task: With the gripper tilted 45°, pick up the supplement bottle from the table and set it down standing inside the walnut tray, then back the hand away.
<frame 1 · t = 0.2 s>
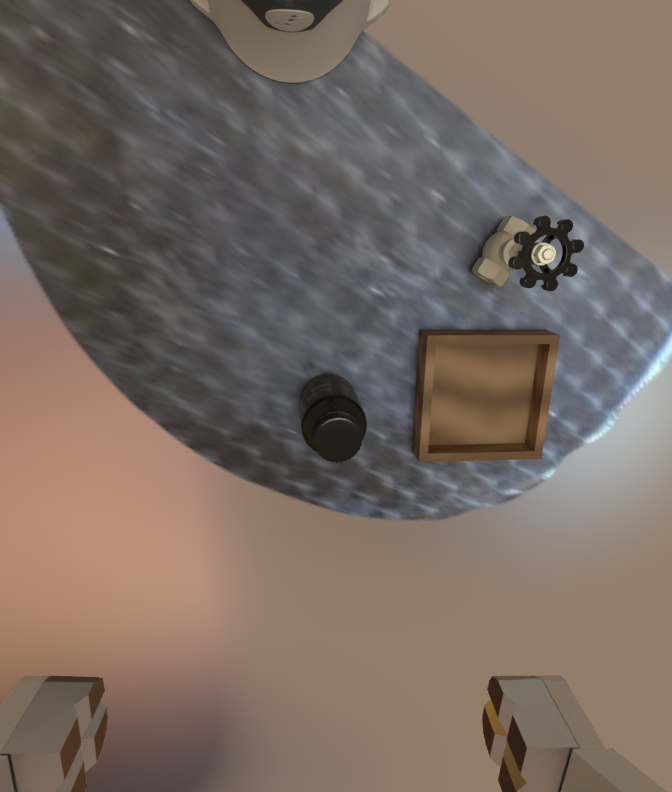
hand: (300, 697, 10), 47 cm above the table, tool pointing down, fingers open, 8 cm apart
supplement bottle: (328, 400, 59), on the table
valve: (494, 251, 55), on the table
walnut tray: (476, 391, 60), on the table
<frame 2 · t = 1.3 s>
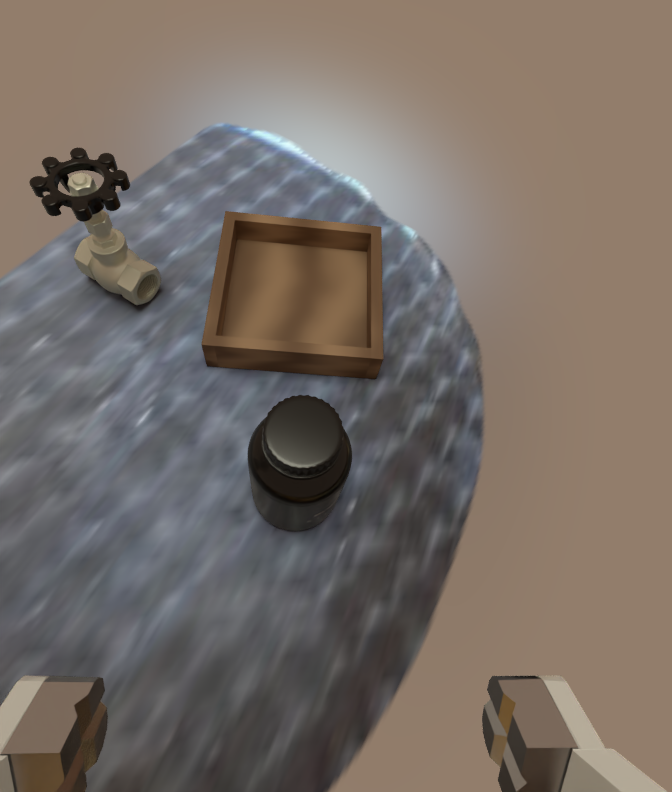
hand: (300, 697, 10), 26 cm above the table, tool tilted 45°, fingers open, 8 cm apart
supplement bottle: (295, 489, 39), on the table
valve: (125, 286, 46), on the table
walnut tray: (298, 304, 47), on the table
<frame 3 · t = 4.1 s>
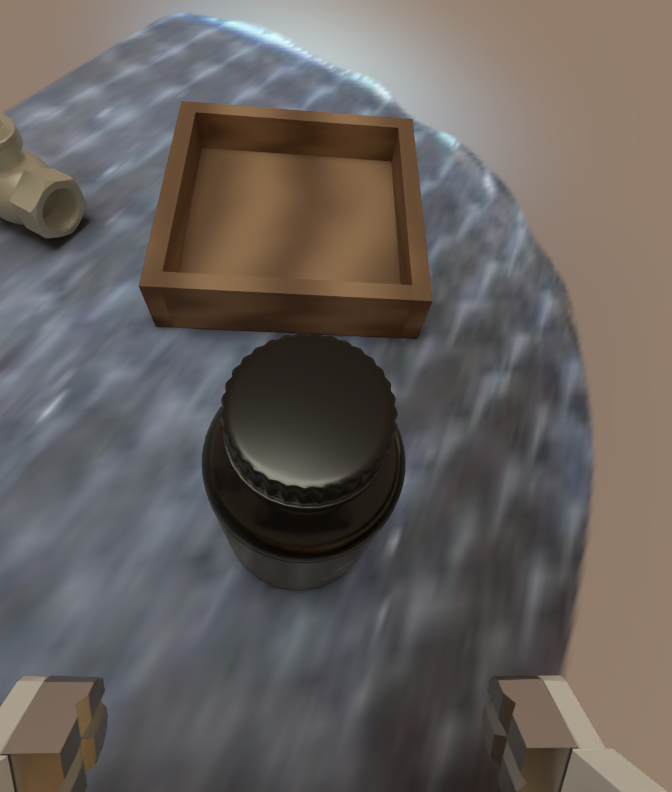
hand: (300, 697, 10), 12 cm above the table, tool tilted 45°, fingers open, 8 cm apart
supplement bottle: (300, 516, 24), on the table
valve: (36, 216, 31), on the table
walnut tray: (294, 235, 32), on the table
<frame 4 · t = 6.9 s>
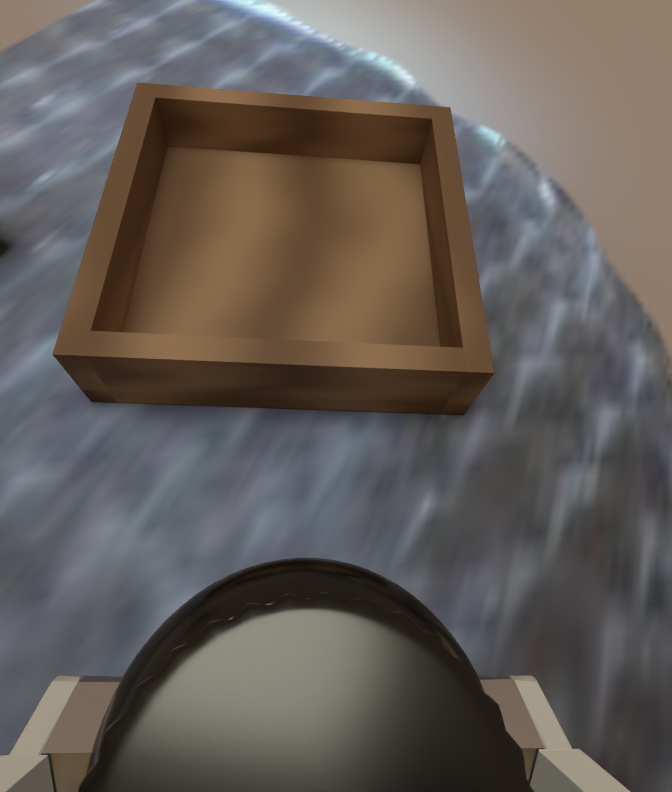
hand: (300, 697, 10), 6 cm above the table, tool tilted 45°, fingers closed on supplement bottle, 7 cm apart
supplement bottle: (296, 715, 15), on the table, touching gripper
walnut tray: (290, 265, 23), on the table
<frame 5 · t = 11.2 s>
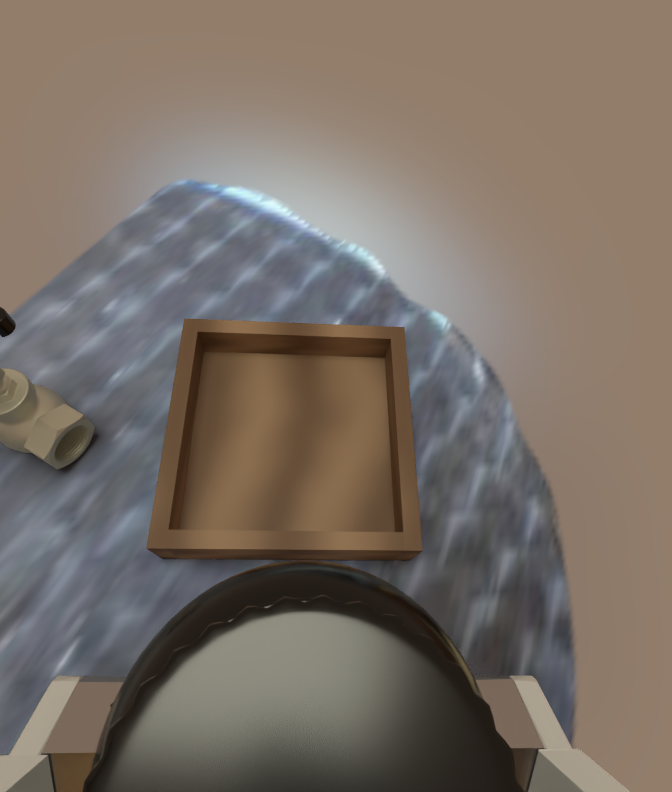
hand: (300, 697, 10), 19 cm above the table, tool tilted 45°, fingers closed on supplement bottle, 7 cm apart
supplement bottle: (298, 714, 16), point 13 cm above the table, touching gripper
valve: (47, 432, 33), on the table
walnut tray: (292, 444, 33), on the table
when the fingers open (8 cm above the table, at t = 15.5 s): supplement bottle drops 1 cm, resting on walnut tray.
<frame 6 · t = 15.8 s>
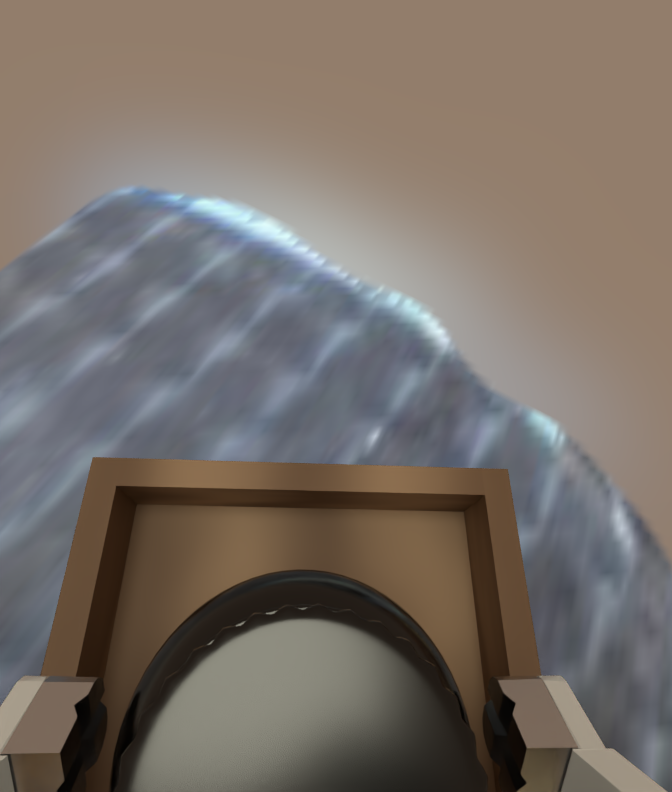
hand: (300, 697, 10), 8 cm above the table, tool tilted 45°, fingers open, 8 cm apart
supplement bottle: (295, 710, 17), point 1 cm above the table, touching walnut tray
walnut tray: (297, 696, 18), on the table
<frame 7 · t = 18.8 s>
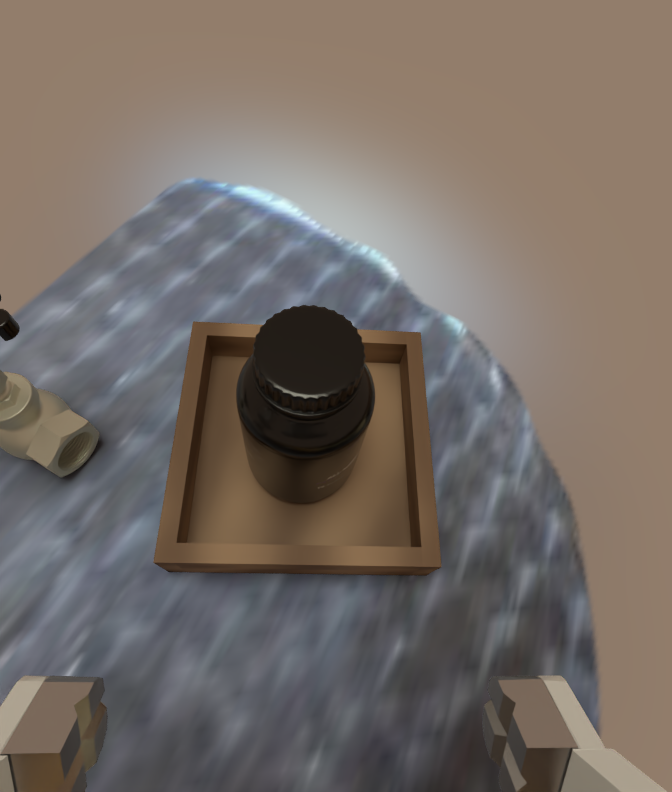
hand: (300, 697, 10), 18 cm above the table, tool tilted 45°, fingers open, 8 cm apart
supplement bottle: (302, 453, 31), point 1 cm above the table, touching walnut tray
valve: (50, 438, 32), on the table
walnut tray: (303, 452, 32), on the table
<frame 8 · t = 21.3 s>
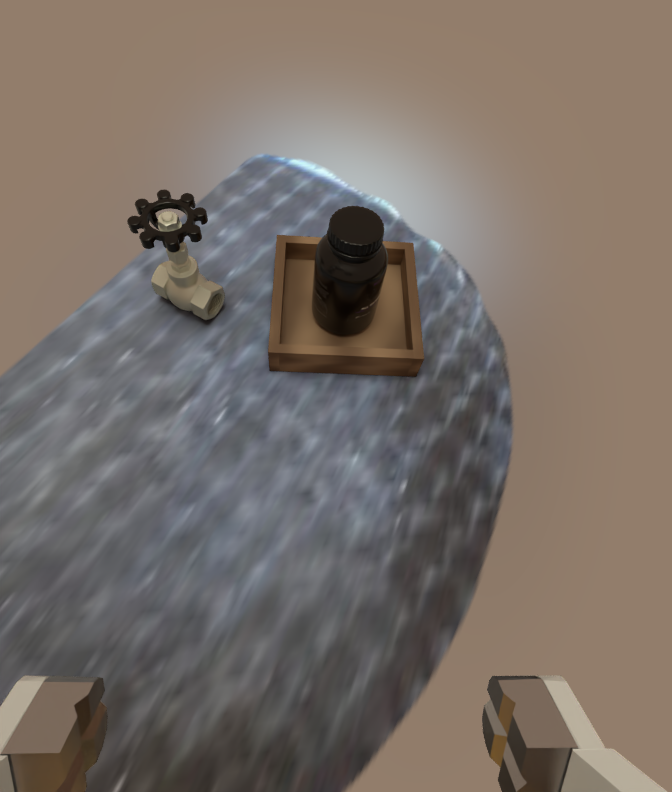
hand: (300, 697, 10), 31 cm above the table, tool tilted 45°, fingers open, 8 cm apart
supplement bottle: (343, 311, 53), point 1 cm above the table, touching walnut tray
valve: (192, 303, 53), on the table
walnut tray: (343, 313, 54), on the table
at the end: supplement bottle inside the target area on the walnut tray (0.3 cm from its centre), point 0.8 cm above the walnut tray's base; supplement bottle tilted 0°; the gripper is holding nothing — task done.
